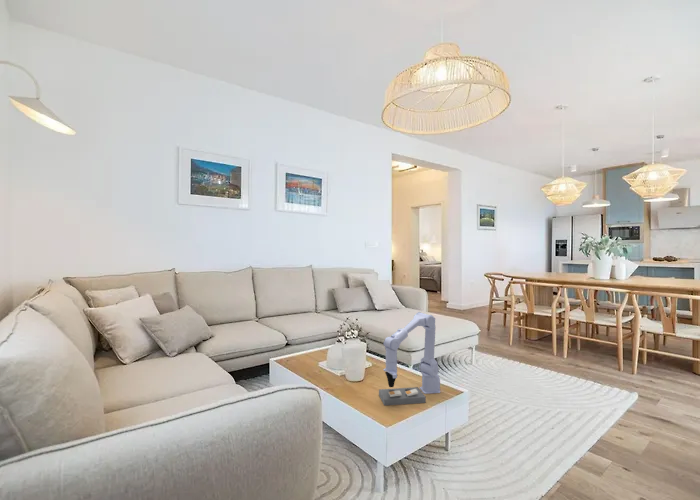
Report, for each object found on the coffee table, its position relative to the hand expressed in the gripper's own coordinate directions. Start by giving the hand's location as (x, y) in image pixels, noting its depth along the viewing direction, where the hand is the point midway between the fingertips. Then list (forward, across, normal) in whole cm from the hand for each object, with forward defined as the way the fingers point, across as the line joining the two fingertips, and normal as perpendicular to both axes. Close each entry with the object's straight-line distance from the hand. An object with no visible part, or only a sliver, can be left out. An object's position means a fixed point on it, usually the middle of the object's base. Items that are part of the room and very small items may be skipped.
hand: (391, 386), depth 176 cm
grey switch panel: (+8, -3, +7) cm, 11 cm away
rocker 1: (+4, 0, +2) cm, 5 cm away
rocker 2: (+4, 0, +11) cm, 12 cm away
